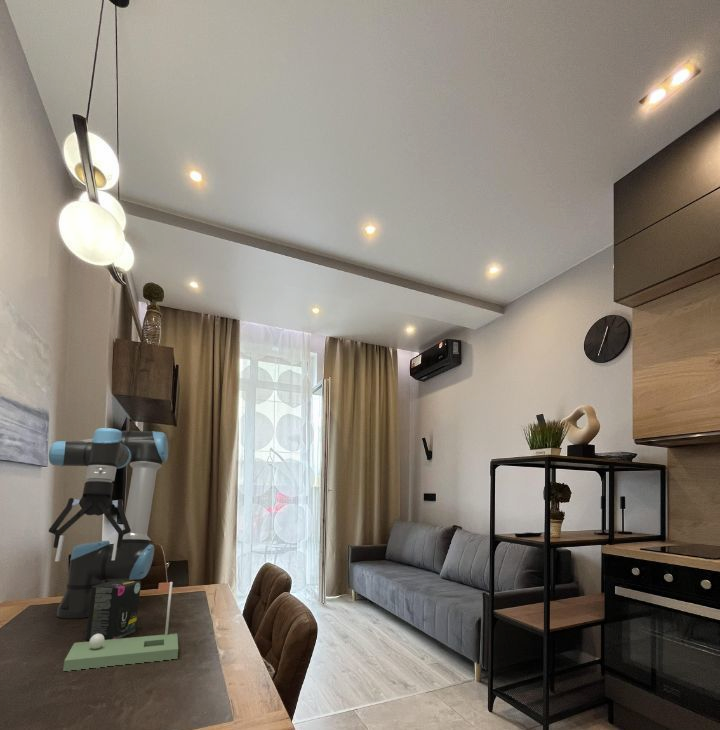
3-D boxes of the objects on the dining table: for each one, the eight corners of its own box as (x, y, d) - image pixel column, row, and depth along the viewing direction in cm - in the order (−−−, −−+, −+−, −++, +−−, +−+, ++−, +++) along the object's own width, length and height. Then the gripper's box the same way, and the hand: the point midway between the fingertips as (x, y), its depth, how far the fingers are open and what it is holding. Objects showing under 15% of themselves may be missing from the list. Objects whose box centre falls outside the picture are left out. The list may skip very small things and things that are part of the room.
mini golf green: (72, 653, 129) (82, 586, 133) (176, 643, 139) (182, 581, 142) (62, 672, 117) (73, 597, 121) (177, 659, 126) (183, 591, 130)
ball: (89, 647, 127) (91, 632, 128) (104, 645, 128) (106, 631, 129) (87, 651, 124) (89, 636, 124) (102, 650, 125) (104, 635, 126)
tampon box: (112, 643, 138) (118, 587, 141) (84, 640, 140) (91, 585, 143) (136, 631, 148) (142, 580, 152) (110, 629, 150) (116, 578, 154)
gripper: (47, 478, 133) (29, 561, 125) (146, 481, 142) (135, 560, 134) (52, 481, 139) (35, 561, 132) (146, 484, 148) (135, 559, 141)
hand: (85, 560), depth 133 cm, fingers open, 13 cm apart
